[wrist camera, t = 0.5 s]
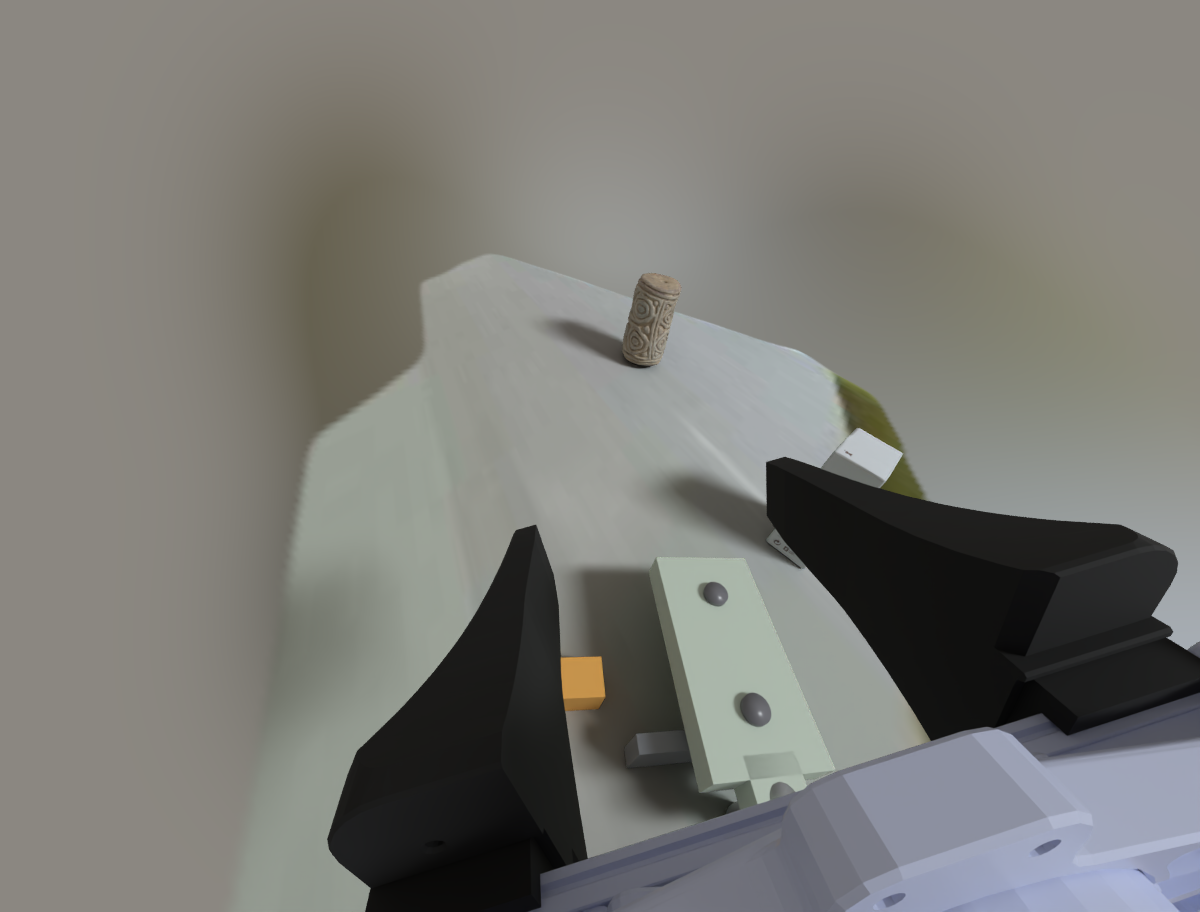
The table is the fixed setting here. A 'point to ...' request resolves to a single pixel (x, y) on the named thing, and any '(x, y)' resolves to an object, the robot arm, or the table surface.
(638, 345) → the carving
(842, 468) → the skincare box
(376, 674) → the table surface
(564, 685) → the orange cuboid brick
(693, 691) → the cover
